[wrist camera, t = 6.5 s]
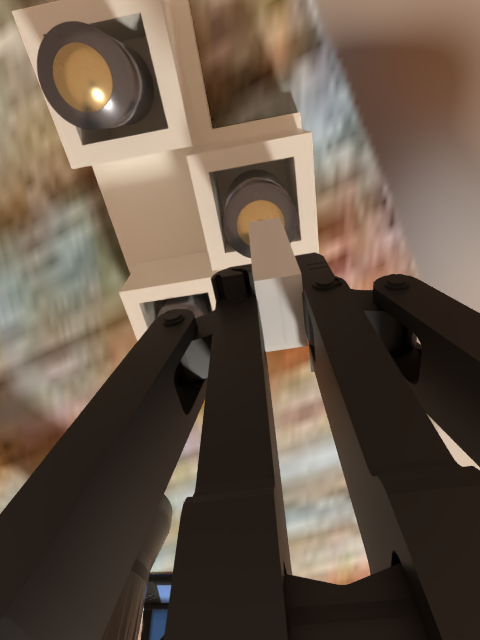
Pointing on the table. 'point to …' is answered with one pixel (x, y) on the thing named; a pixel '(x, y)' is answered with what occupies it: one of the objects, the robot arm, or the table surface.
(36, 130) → the table surface
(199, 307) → the knob
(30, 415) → the table surface
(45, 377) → the table surface
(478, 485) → the robot arm
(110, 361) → the table surface
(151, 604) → the handheld game console
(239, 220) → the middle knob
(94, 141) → the knob panel
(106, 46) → the knob
